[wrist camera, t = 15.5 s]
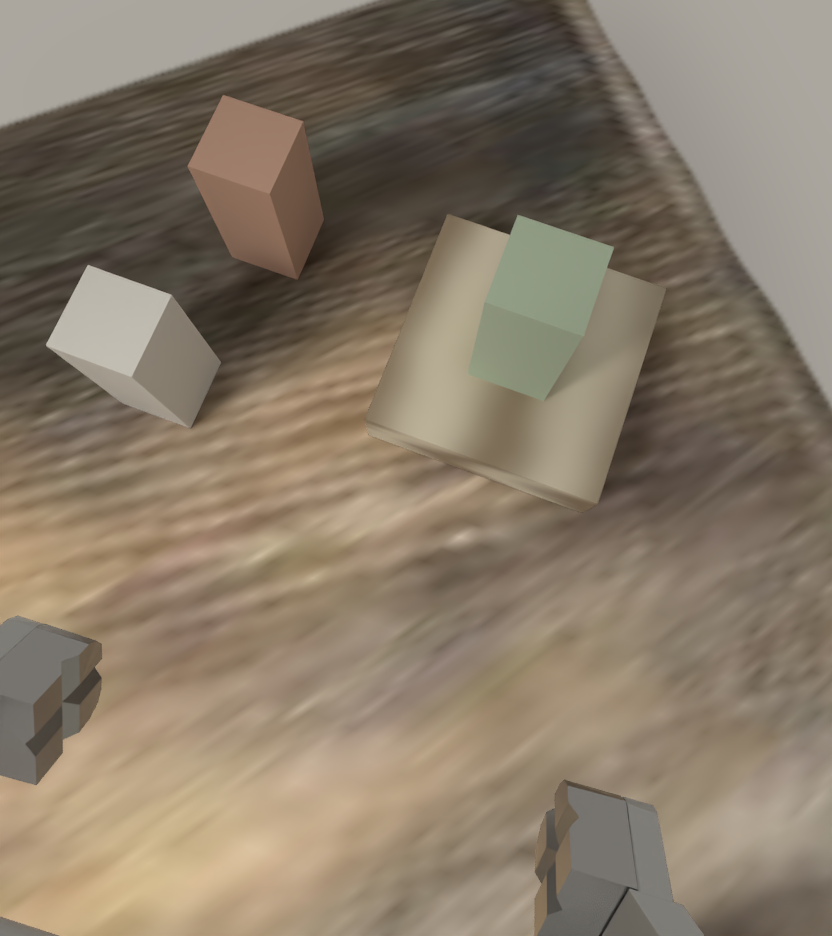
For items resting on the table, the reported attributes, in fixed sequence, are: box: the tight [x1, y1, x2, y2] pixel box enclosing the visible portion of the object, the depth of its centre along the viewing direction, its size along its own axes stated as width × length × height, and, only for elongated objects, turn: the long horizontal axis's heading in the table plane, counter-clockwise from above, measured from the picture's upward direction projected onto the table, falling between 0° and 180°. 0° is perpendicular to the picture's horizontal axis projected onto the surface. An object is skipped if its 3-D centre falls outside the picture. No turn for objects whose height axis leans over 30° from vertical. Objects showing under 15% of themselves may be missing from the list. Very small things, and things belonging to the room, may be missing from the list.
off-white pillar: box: [46, 265, 221, 429], centre depth 33 cm, size 4×4×8 cm
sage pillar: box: [468, 215, 614, 401], centre depth 31 cm, size 4×4×8 cm
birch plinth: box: [365, 214, 667, 513], centre depth 36 cm, size 12×12×3 cm
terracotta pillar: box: [188, 95, 324, 280], centre depth 35 cm, size 4×4×8 cm
